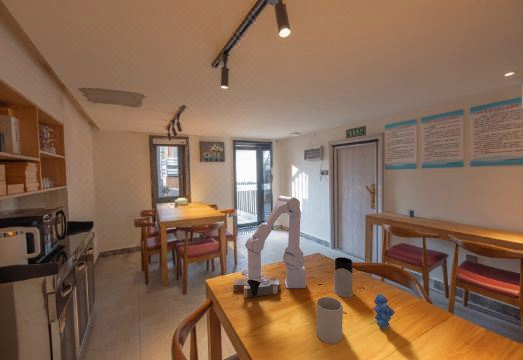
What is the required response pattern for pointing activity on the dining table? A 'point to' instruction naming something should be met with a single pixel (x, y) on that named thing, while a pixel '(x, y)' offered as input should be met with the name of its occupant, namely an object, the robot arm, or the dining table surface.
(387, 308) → the grapes
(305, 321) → the dining table surface
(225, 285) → the dining table surface
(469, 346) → the dining table surface
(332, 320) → the mug
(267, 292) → the stool leg
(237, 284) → the rail
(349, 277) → the glass holder
